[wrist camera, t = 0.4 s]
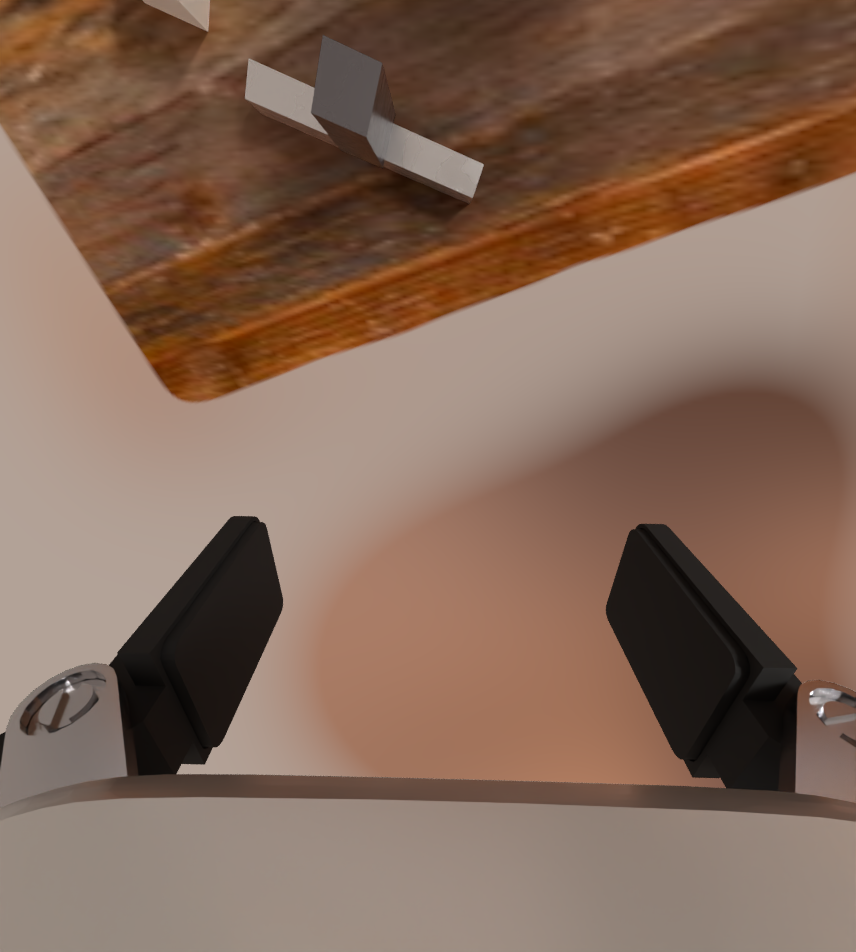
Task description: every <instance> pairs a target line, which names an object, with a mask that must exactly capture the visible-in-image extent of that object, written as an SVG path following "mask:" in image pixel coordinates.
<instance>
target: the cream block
mask: <svg viewBox="0 0 856 952" xmlns="http://www.w3.org/2000/svg"><path fill="white" fill-rule="evenodd" d="M142 1H143V2H144V3H146V4H148V5H150V6H152V7H154V8H157V9H159V10H161V11H163V12H165V13H168V14H170V15H172V16H174V17H176V18H179V19H181V20H183V21H185V22H187V23H190V24H192V25H194V26H196V27H199V28H201V29H203V30H205V31H207V32H208V27H209V9H210V0H142Z"/></svg>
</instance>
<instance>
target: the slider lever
mask: <svg viewBox="0 0 856 952" xmlns="http://www.w3.org/2000/svg"><path fill="white" fill-rule="evenodd" d="M245 99H246V100H247V101H248V102H249V103H250V104H251V105H252V106H253V107H255V108H256V109H257V110H258V111H259V112H260V113H261V114H262V115H265V116H267V117H269V118H272V119H274V120H276V121H279V122H281V123H283V124H285V125H288V126H290V127H292V128H295V129H297V130H299V131H302V132H304V133H306V134H309V135H311V136H313V137H316V138H318V139H320V140H322V141H325V142H327V143H329V144H332V145H334V146H336V147H338V148H339V149H340V150H341V151H344V152H346V153H348V154H351V155H353V156H355V157H358V158H360V159H362V160H364V161H367V162H369V163H371V164H374V165H376V166H378V167H381V168H383V167H385V168H387V169H389V170H392V171H394V172H396V173H399V174H401V175H403V176H406V177H408V178H410V179H413V180H415V181H417V182H419V183H422V184H424V185H426V186H429V187H431V188H433V189H436V190H438V191H440V192H443V193H445V194H447V195H450V196H452V197H454V198H456V199H459V200H461V201H463V202H466V203H468V204H470V202H471V200H472V198H473V196H474V193H475V190H476V187H477V184H478V181H479V178H480V175H481V172H482V169H483V166H484V164H482V163H480V162H478V161H475V160H473V159H471V158H469V157H466V156H464V155H462V154H460V153H458V152H455V151H453V150H451V149H449V148H447V147H444V146H442V145H440V144H438V143H435V142H433V141H431V140H429V139H427V138H424V137H422V136H420V135H418V134H415V133H413V132H411V131H409V130H407V129H404V128H402V127H400V126H398V125H396V124H393V123H394V119H395V110H394V106H393V102H392V98H391V94H390V91H389V87H388V83H387V79H386V75H385V71H384V67H383V64H382V63H381V62H379V61H377V60H375V59H373V58H371V57H369V56H366V55H364V54H362V53H360V52H358V51H356V50H354V49H352V48H349V47H347V46H345V45H343V44H341V43H339V42H337V41H335V40H333V39H330V38H328V37H326V36H324V35H323V38H322V44H321V50H320V57H319V63H318V70H317V76H316V83H315V88H314V87H311V86H309V85H307V84H305V83H302V82H300V81H298V80H296V79H294V78H291V77H289V76H287V75H285V74H283V73H280V72H278V71H276V70H274V69H271V68H269V67H267V66H265V65H263V64H260V63H258V62H256V61H254V60H251V59H248V70H247V81H246V92H245Z"/></svg>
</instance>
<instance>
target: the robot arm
mask: <svg viewBox="0 0 856 952" xmlns="http://www.w3.org/2000/svg"><path fill="white" fill-rule="evenodd" d="M282 607H283V597H282V593H281V588H280V584H279V579H278V575H277V571H276V566H275V562H274V557H273V554H272V549H271V544H270V540H269V536H268V531H267V528H266V525H265V523H263V522H260V521H259V519H258V518H257V517H252V516H233V517H231V518H230V519H229V520H228V521H227V522H226V524H225V525H224V526H223V527H222V528H221V529H220V531H219V532H218V533H217V534H216V535H215V537H214V538H213V539H212V540H211V541H210V543H209V544H208V545H207V546H206V547H205V549H204V550H203V551H202V552H201V553H200V555H199V556H198V557H197V558H196V559H195V561H194V562H193V563H192V564H191V565H190V567H189V568H188V569H187V570H186V571H185V572H184V574H183V575H182V576H181V577H180V579H179V580H178V581H177V582H176V583H175V584H174V586H173V587H172V588H171V589H170V590H169V592H168V593H167V594H166V595H165V596H164V598H163V599H162V600H161V601H160V602H159V603H158V605H157V606H156V607H155V608H154V609H153V611H152V612H151V613H150V614H149V615H148V617H147V618H146V619H145V620H144V621H143V623H142V624H141V625H140V626H139V627H138V629H137V630H136V631H135V632H134V633H133V634H132V636H131V637H130V638H129V639H128V640H127V642H126V643H125V644H124V645H123V646H122V648H121V649H120V650H119V651H118V655H117V656H116V657H115V658H114V660H113V661H112V662H111V663H110V665H109V666H108V665H107V664H99V663H92V664H85V665H80V666H77V667H74V668H72V669H69V670H66V671H64V672H62V673H60V674H58V675H56V676H54V677H52V678H50V679H49V680H47V681H46V682H45V683H43V684H42V685H40V686H39V687H38V688H36V689H35V690H33V691H32V692H31V693H30V694H29V695H28V696H27V697H26V698H25V699H24V700H23V701H22V702H21V703H20V704H19V705H18V707H17V708H16V710H15V711H14V712H13V714H12V715H11V717H10V720H9V722H8V725H7V728H6V732H4V733H3V734H1V735H0V952H856V692H855V691H853V690H851V689H849V688H846V687H844V686H841V685H838V684H836V683H832V682H827V681H822V680H809V681H806V682H805V683H803V684H802V683H801V682H800V681H799V679H798V678H797V677H796V676H795V675H794V673H795V671H796V670H797V668H796V667H795V665H794V664H793V663H792V662H791V661H790V660H789V659H788V658H787V657H786V656H785V654H784V653H783V652H782V651H781V650H780V649H779V648H778V647H777V646H776V645H775V643H774V642H773V641H772V640H771V639H770V638H769V637H768V636H767V635H766V634H765V632H764V631H763V630H762V629H761V628H760V627H759V626H758V625H757V624H756V623H755V621H754V620H753V619H752V618H751V617H750V616H749V615H748V614H747V613H746V612H745V610H743V608H742V607H741V606H740V605H739V604H738V603H737V602H736V601H735V600H734V598H733V597H732V596H731V595H730V594H729V593H728V592H727V591H726V590H725V589H724V587H723V586H722V585H721V584H720V583H719V582H718V581H717V580H716V579H715V578H714V576H713V575H712V574H711V573H710V572H709V571H708V570H707V569H706V568H705V567H704V566H703V564H702V563H701V562H700V561H699V560H698V559H697V558H696V557H695V556H694V555H693V554H692V552H691V551H690V550H689V549H688V548H687V547H686V546H685V545H684V544H683V543H682V541H681V540H680V539H679V538H678V537H677V536H676V535H675V534H674V533H673V532H672V531H671V529H670V528H669V527H667V526H666V525H664V524H639V525H638V526H637V527H636V529H633V530H631V531H630V532H629V535H628V538H627V541H626V544H625V547H624V551H623V554H622V557H621V560H620V563H619V567H618V570H617V573H616V576H615V579H614V582H613V586H612V589H611V592H610V595H609V598H608V601H607V605H606V615H607V618H608V621H609V623H610V625H611V627H612V629H613V631H614V633H615V635H616V637H617V639H618V641H619V643H620V645H621V647H622V649H623V651H624V653H625V655H626V657H627V659H628V661H629V663H630V665H631V667H632V669H633V671H634V674H635V675H636V678H637V680H638V682H639V683H640V686H641V688H642V690H643V692H644V694H645V696H646V698H647V699H648V702H649V704H650V706H651V708H652V710H653V712H654V714H655V716H656V718H657V720H658V722H659V724H660V726H661V728H662V730H663V732H664V734H665V736H666V738H667V740H668V742H669V744H670V746H671V748H672V750H673V752H674V753H675V755H676V756H677V757H678V758H680V759H683V760H684V761H685V764H686V766H687V767H688V769H689V771H690V773H691V775H692V777H698V778H721V780H722V781H723V783H724V785H725V787H726V788H708V787H689V786H664V785H663V786H662V785H661V786H660V785H633V784H632V785H631V784H602V783H600V784H599V783H571V782H538V781H502V780H501V781H500V780H466V779H463V780H462V779H426V778H388V777H342V776H340V777H339V776H293V775H292V776H291V775H207V774H192V775H189V774H186V775H185V774H184V775H183V774H182V775H179V774H178V775H177V774H176V773H177V771H178V770H179V768H180V766H181V764H205V763H206V761H207V758H208V756H209V754H210V752H211V750H212V748H213V747H218V746H219V745H220V744H221V742H222V741H223V739H224V737H225V735H226V733H227V730H228V728H229V726H230V724H231V721H232V719H233V717H234V715H235V713H236V710H237V708H238V706H239V704H240V702H241V700H242V697H243V695H244V693H245V691H246V688H247V686H248V684H249V682H250V680H251V678H252V675H253V673H254V671H255V669H256V667H257V664H258V662H259V660H260V658H261V656H262V653H263V651H264V649H265V647H266V644H267V642H268V640H269V638H270V636H271V633H272V631H273V629H274V627H275V625H276V622H277V620H278V618H279V616H280V614H281V611H282Z"/></svg>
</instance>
